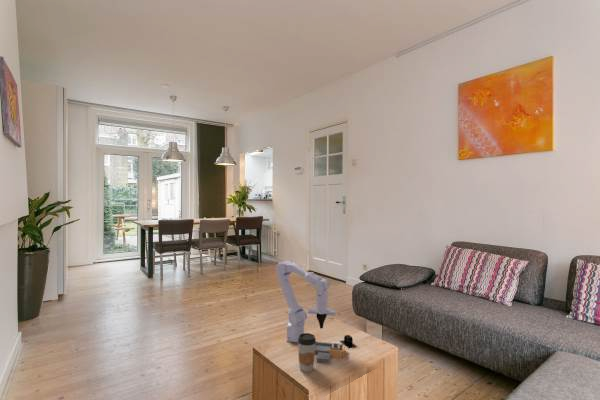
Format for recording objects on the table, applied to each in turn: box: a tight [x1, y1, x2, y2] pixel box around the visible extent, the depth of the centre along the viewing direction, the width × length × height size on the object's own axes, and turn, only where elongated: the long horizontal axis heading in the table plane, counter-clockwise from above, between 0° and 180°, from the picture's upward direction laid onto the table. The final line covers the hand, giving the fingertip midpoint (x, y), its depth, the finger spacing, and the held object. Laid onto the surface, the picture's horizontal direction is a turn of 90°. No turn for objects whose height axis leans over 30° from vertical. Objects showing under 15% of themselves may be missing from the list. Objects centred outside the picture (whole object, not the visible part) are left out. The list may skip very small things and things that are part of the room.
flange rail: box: [315, 341, 346, 359], centre depth 163 cm, size 16×8×3 cm, turn 79°
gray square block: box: [316, 352, 332, 364], centre depth 155 cm, size 6×6×2 cm
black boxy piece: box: [339, 334, 357, 349], centre depth 173 cm, size 12×7×5 cm, turn 23°
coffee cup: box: [298, 332, 317, 373], centre depth 147 cm, size 8×8×15 cm
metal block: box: [331, 342, 340, 350], centre depth 161 cm, size 4×4×5 cm
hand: (321, 327), depth 168 cm, fingers closed
